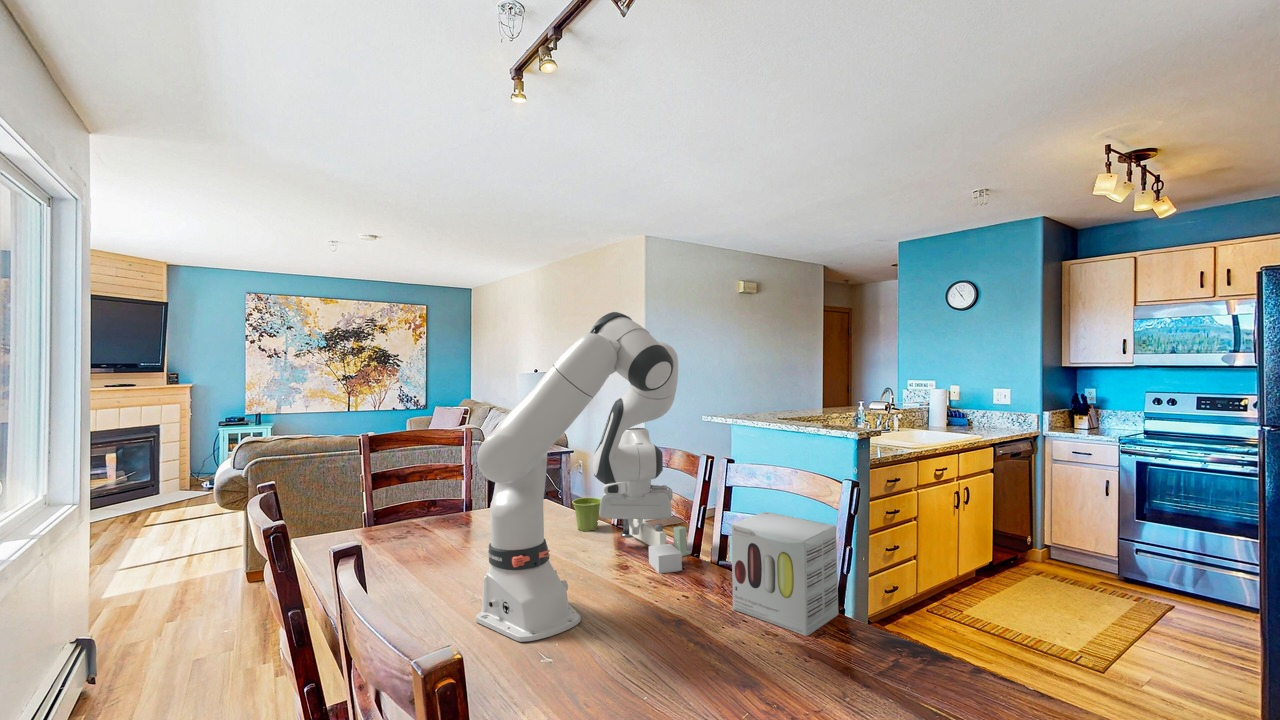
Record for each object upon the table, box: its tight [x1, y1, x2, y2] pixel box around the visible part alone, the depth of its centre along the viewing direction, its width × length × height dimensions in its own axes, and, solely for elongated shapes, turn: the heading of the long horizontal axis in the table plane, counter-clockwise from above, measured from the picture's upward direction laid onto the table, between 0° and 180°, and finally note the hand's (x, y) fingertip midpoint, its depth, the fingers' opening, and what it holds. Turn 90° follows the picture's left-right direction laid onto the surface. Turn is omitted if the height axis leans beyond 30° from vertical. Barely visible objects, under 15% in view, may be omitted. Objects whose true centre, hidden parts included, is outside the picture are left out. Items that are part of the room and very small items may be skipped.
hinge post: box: [620, 519, 634, 538], centre depth 174 cm, size 4×4×7 cm
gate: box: [629, 519, 667, 546], centre depth 163 cm, size 18×2×6 cm, turn 28°
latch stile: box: [672, 525, 692, 558], centre depth 157 cm, size 6×4×7 cm
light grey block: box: [648, 543, 683, 574], centre depth 147 cm, size 8×6×4 cm
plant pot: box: [571, 497, 601, 532], centre depth 182 cm, size 9×9×9 cm
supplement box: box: [731, 511, 839, 637], centre depth 118 cm, size 17×13×18 cm
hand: (635, 534), depth 164 cm, fingers closed
